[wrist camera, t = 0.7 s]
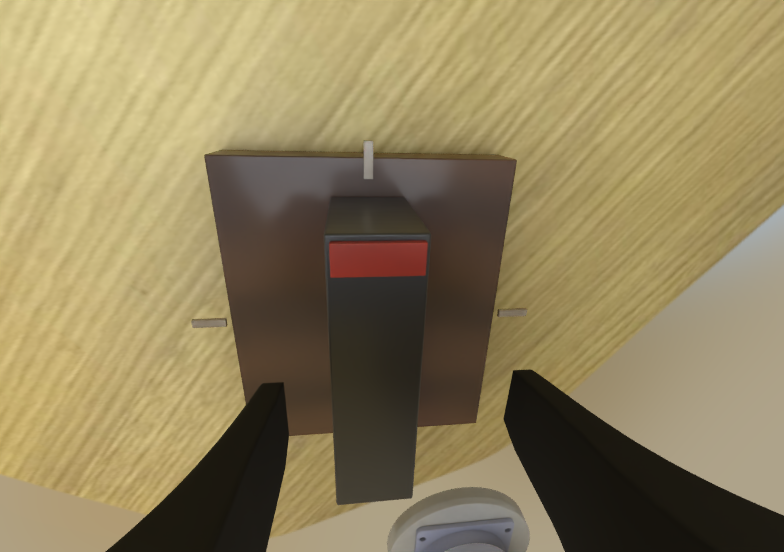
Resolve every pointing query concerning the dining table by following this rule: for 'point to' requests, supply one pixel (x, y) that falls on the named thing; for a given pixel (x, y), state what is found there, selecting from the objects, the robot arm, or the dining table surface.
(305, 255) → the brown pegged board
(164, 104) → the dining table surface
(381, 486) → the gray bar
